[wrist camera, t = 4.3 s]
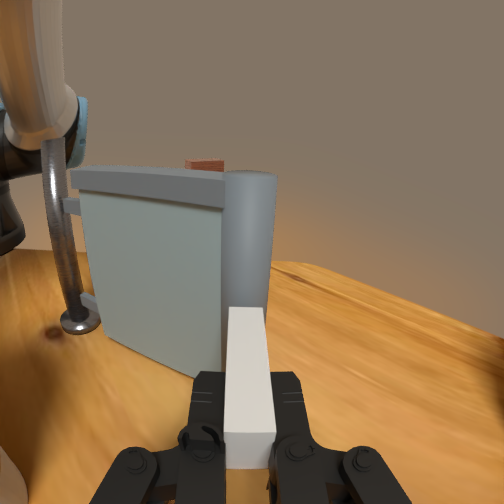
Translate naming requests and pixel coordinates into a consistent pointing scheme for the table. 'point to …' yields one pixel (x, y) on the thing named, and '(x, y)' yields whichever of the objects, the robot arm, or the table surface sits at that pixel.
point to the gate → (175, 256)
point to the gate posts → (61, 232)
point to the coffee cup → (11, 482)
